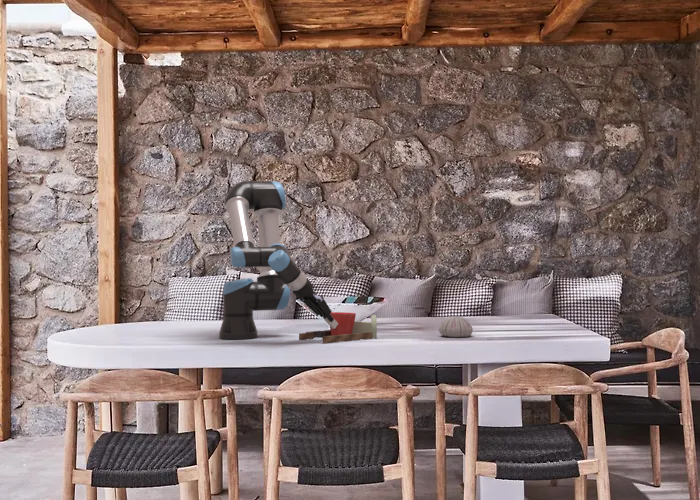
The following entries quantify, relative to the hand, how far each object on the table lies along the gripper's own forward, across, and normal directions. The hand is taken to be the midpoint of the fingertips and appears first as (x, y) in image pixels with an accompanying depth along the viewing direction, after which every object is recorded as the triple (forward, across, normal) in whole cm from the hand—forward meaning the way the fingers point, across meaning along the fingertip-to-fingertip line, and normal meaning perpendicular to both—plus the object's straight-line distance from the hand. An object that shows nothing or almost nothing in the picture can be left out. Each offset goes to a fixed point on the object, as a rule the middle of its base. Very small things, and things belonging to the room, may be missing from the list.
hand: (335, 326), depth 306 cm
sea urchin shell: (+33, +25, +25) cm, 48 cm away
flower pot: (+7, -2, 0) cm, 7 cm away
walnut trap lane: (+4, -2, -3) cm, 5 cm away
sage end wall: (+13, 0, +5) cm, 14 cm away
